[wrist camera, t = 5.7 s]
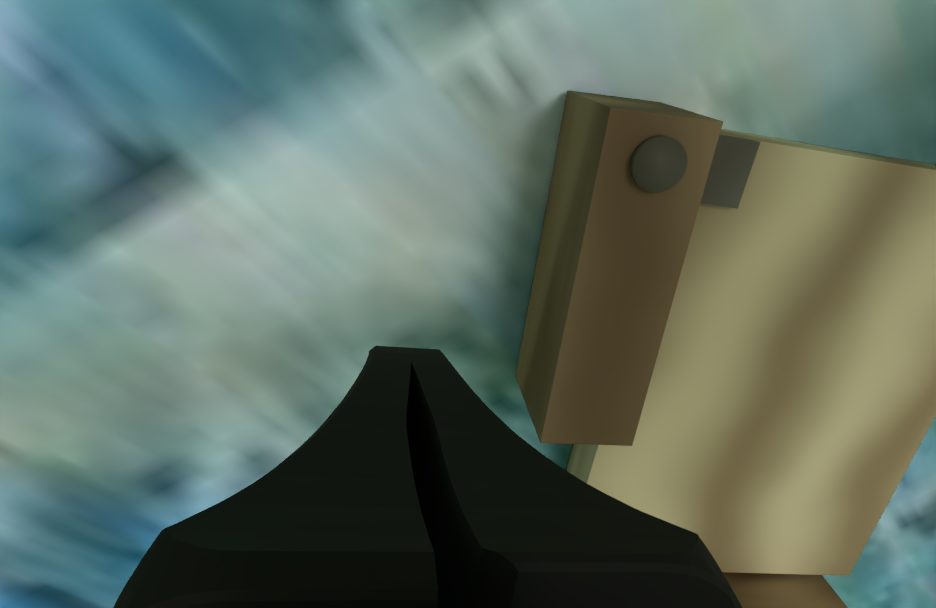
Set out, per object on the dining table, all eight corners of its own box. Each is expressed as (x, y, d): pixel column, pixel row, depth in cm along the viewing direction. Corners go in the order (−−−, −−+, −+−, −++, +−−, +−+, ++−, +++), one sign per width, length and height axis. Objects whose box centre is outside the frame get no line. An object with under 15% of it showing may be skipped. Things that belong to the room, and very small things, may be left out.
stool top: (1003, 176, 22) (1123, 207, 19) (793, 593, 30) (849, 671, 27) (664, 120, 20) (727, 142, 16) (533, 587, 28) (555, 672, 24)
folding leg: (660, 102, 20) (728, 123, 16) (593, 379, 24) (635, 451, 20) (567, 90, 19) (614, 109, 15) (515, 376, 23) (542, 448, 19)
